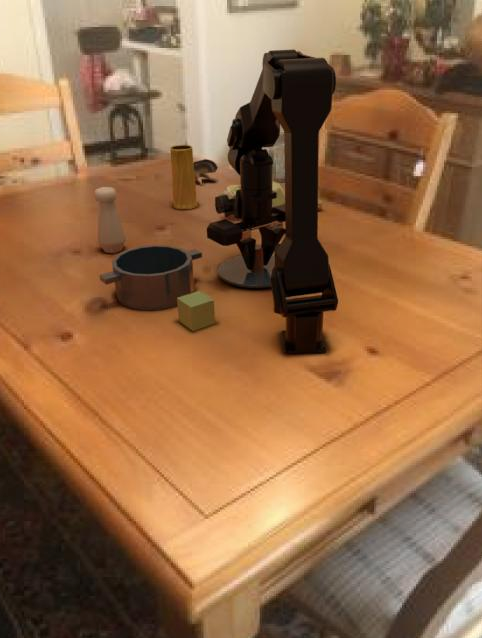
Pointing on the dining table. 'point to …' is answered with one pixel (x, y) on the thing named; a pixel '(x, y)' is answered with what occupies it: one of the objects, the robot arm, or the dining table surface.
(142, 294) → the pot
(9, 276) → the dining table surface
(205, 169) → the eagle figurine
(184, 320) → the block
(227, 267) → the lid
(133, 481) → the dining table surface
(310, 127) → the robot arm
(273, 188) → the decorative object
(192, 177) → the vase
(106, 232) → the salt shaker
